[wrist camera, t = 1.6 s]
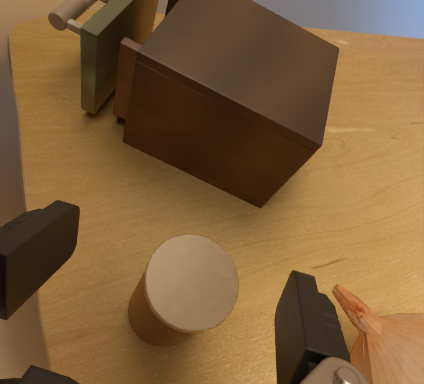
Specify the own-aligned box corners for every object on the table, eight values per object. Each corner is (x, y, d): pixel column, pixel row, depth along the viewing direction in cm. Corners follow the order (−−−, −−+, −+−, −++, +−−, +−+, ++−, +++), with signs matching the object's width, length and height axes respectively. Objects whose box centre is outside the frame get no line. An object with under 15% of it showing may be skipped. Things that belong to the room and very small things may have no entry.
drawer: (34, 85, 28) (18, -5, 21) (101, 20, 34) (105, -64, 28) (213, 172, 29) (249, 113, 23) (245, 95, 36) (281, 31, 29)
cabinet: (122, 141, 29) (136, 50, 21) (176, 62, 36) (201, -28, 28) (260, 208, 30) (322, 145, 22) (285, 119, 37) (339, 48, 30)
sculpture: (587, 598, 15) (415, 325, 15) (391, 520, 22) (270, 332, 22) (568, 422, 22) (446, 226, 21) (419, 403, 28) (326, 256, 28)
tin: (111, 311, 22) (123, 280, 16) (162, 260, 25) (189, 216, 18) (164, 364, 22) (199, 355, 15) (210, 306, 24) (256, 278, 18)
